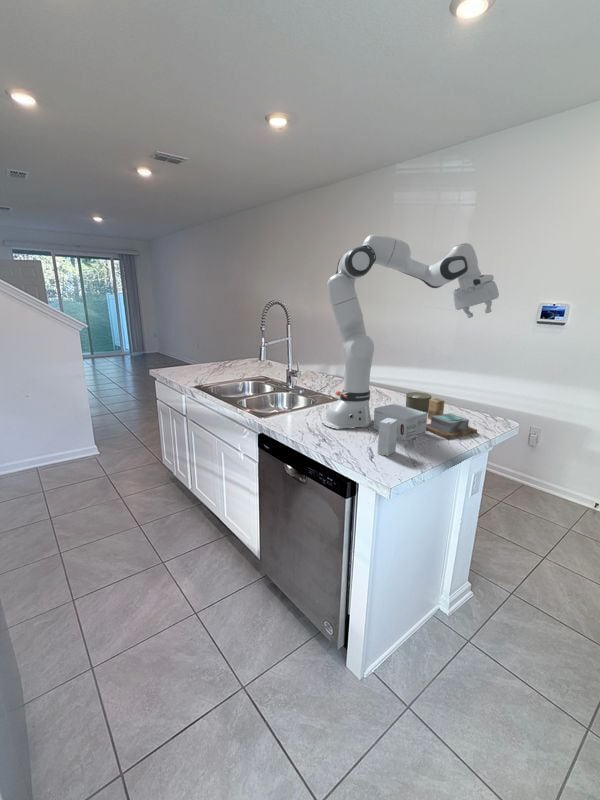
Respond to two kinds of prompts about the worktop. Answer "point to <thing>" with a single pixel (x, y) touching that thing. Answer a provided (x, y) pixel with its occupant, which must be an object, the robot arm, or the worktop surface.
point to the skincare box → (387, 436)
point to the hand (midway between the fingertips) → (479, 315)
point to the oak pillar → (435, 407)
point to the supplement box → (402, 420)
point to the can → (418, 401)
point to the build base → (449, 435)
